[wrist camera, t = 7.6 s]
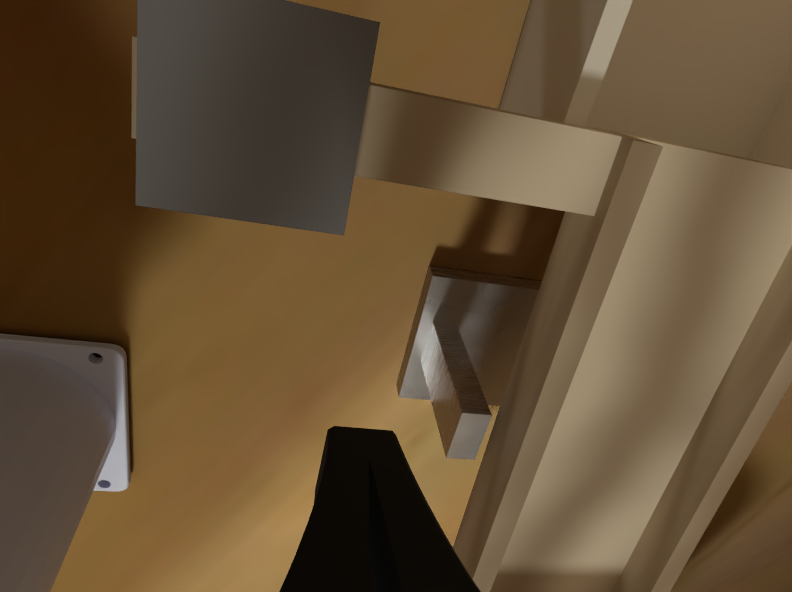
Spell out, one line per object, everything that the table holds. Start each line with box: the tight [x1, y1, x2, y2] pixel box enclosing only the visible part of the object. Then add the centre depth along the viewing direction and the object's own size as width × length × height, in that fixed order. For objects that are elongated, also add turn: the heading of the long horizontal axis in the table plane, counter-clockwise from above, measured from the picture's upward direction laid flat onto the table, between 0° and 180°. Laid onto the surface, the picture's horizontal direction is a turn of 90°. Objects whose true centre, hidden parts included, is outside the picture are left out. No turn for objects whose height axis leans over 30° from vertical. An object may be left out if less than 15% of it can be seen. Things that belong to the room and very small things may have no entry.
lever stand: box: [397, 266, 542, 459], centre depth 21 cm, size 12×6×6 cm, turn 78°
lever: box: [131, 0, 792, 592], centre depth 17 cm, size 19×21×3 cm
